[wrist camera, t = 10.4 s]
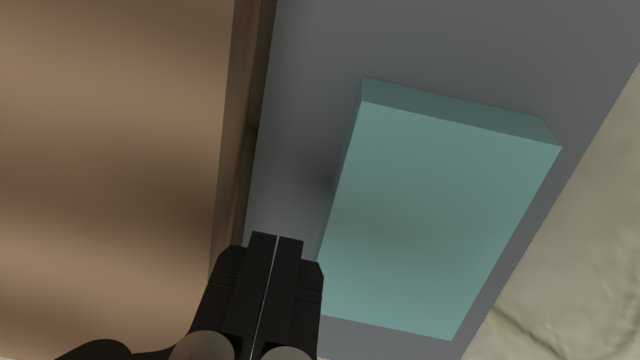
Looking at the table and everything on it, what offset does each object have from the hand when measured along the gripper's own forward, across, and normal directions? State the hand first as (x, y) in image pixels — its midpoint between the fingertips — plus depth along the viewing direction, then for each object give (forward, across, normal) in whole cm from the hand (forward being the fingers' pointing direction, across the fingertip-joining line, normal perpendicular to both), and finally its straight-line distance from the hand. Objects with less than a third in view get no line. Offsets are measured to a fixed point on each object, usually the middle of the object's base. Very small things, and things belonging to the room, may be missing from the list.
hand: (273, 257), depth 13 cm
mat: (+5, -4, 0) cm, 6 cm away
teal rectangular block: (+2, -4, 0) cm, 5 cm away
